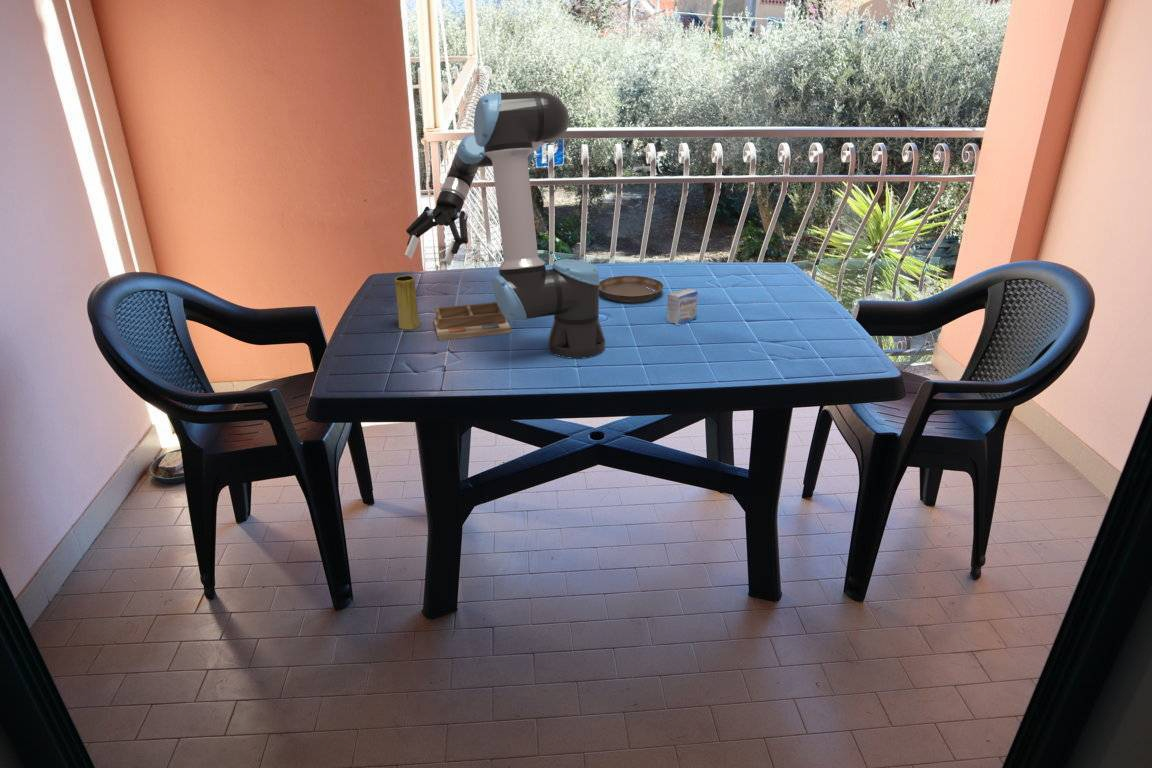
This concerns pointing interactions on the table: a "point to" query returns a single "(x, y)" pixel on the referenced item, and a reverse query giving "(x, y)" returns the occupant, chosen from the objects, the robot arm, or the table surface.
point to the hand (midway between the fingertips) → (427, 259)
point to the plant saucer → (630, 288)
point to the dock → (470, 321)
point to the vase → (407, 302)
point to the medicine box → (682, 306)
